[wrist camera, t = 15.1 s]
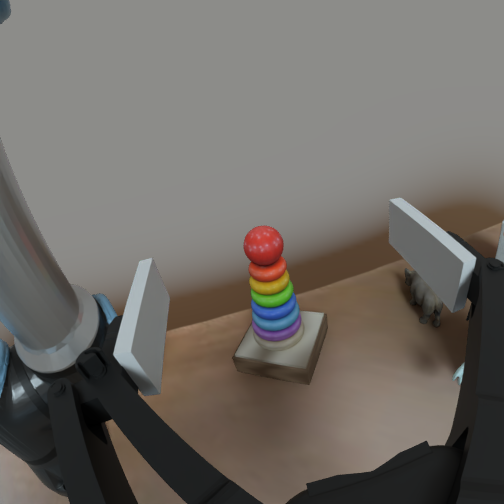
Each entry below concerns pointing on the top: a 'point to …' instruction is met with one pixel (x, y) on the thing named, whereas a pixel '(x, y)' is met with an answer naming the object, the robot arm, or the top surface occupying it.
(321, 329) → the pedestal
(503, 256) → the small box
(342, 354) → the top surface
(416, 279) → the rhino figurine
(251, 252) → the stacking toy
